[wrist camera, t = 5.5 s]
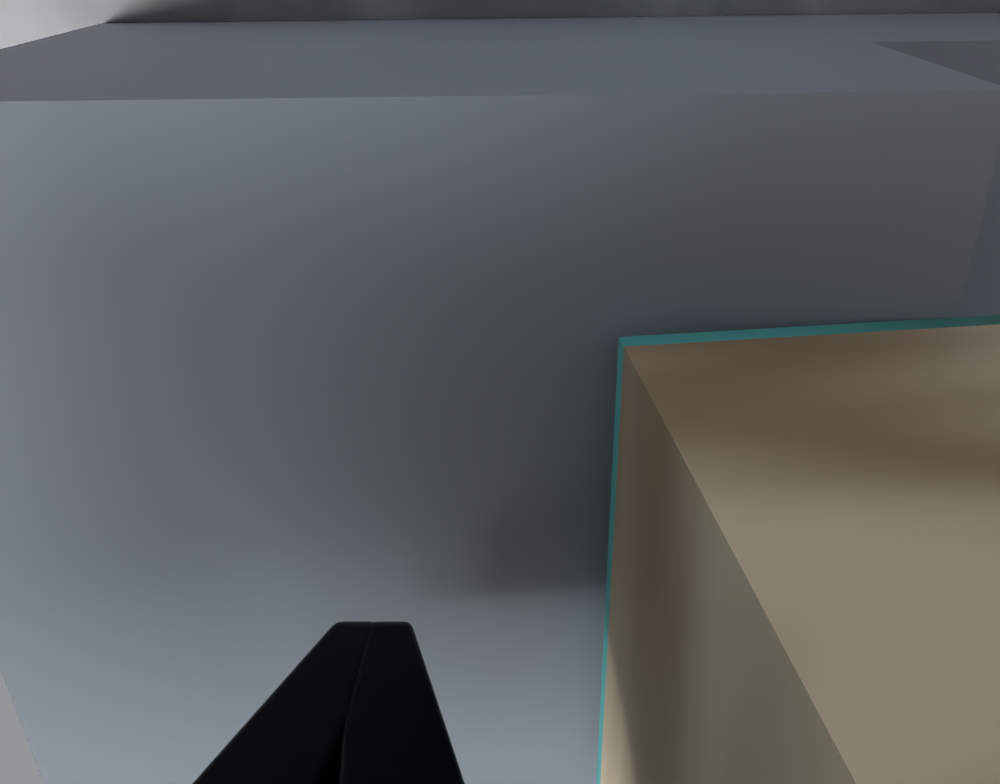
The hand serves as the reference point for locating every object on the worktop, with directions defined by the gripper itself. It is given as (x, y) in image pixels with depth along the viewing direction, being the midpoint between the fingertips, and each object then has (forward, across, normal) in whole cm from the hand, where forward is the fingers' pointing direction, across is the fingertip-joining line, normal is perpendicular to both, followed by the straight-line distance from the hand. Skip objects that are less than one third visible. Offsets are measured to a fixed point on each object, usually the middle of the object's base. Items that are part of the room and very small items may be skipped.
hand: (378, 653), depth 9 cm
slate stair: (+7, -5, 0) cm, 9 cm away
